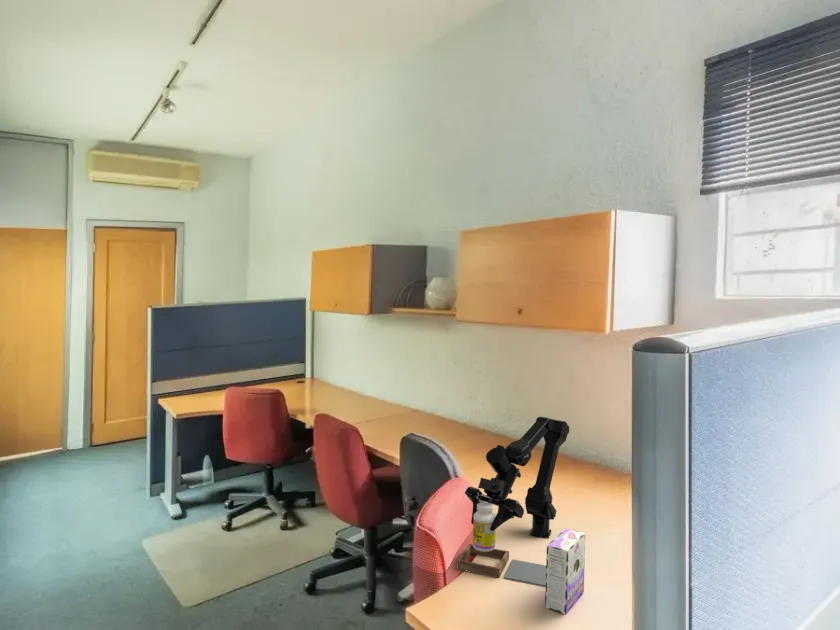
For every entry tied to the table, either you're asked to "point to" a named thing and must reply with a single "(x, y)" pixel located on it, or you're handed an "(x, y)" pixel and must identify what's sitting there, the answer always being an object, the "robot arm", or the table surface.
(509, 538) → the table surface
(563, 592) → the candy box
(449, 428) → the table surface
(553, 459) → the robot arm
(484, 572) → the square frame
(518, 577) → the mat
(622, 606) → the table surface
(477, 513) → the supplement bottle
